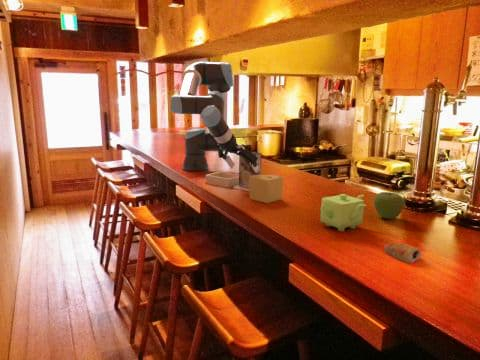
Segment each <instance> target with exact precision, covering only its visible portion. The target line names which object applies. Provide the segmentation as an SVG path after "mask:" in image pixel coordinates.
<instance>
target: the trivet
mask: <svg viewBox="0 0 480 360" xmlns="http://www.w3.org/2000/svg"><path fill="white" fill-rule="evenodd" d="M232 188H233V189H236V190H241V191H245V192H249V188H247V187H239V185H236V186H232Z"/></svg>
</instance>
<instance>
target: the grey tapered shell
mask: <svg viewBox="0 0 480 360" xmlns="http://www.w3.org/2000/svg"><path fill="white" fill-rule="evenodd" d="M383 247H384V251H385V253H387V254H389V256H391V257H392V258H394V259H397V260H399V261H402V262H405V263H408V264H409V263H414V262H415V261H417V260H419V259H420V258H421V256H422V255H421V250H420V249H419V247H414V246H413V245H410V244H406V243H404V244H403V243H388V244H385V245H383Z"/></svg>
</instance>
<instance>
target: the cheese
mask: <svg viewBox="0 0 480 360" xmlns="http://www.w3.org/2000/svg"><path fill="white" fill-rule="evenodd" d="M283 181H284V178H283V177H282V176H279V175H276V174H275V175H274V174H268V175H267V174H266V175H265V174H261V175H253V176H250V179H249V191H248V193H249V200H253V201H256V202H261V203H263V204H271V203H273V202H277V201H281V200H282V197H283V187H284V184H283Z"/></svg>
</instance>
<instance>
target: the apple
mask: <svg viewBox="0 0 480 360" xmlns="http://www.w3.org/2000/svg"><path fill="white" fill-rule="evenodd" d="M406 204H407V203H406V200H405V198H404V197H403V196H402V195H400V194H399V193H397V192H396V193H395V192H391V191H390V192H388V191H387V192H385V191H380V192H379V193H377V194H376V195H375V196H374V198H373V206H374V208H375V211H376V213H377V215H379V216H380V217H381V218H383V219H384V220H385V219H386V220H394V219H396V218H397V217H399V216H400V214H401V213H402V211H403V210H404V208H405V206H406Z"/></svg>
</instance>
